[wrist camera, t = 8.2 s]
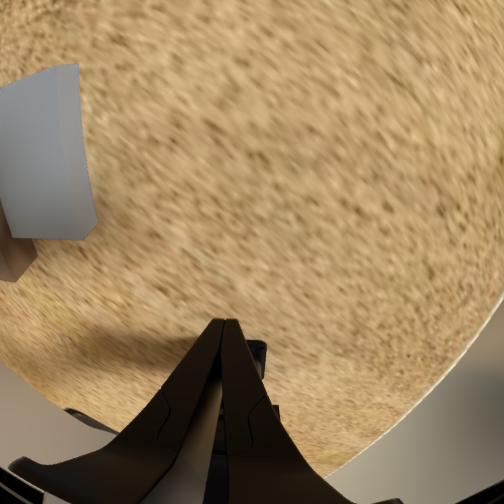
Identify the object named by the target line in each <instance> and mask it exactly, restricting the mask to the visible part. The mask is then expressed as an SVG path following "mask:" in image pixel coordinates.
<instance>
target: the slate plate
mask: <svg viewBox="0 0 504 504" xmlns="http://www.w3.org/2000/svg"><path fill="white" fill-rule="evenodd" d="M0 199H1V203H2V206H3V209H4V213H5V216H6V219H7V222H8V225H9V228H10V231H11V234H12V237H13V238H34V239H59V240H84V238H85V237H86V236H87V235H88V234H89V232H90V231H91V230H92V229H93V228H94V227H95V226H96V224H97V223H98V220H97V215H96V211H95V206H94V201H93V196H92V190H91V185H90V179H89V173H88V167H87V160H86V153H85V145H84V137H83V128H82V117H81V103H80V84H79V64H68V65H57V66H54V67H51V68H48V69H45V70H42V71H40V72H37V73H35V74H32V75H29V76H27V77H25V78H22V79H20V80H17V81H15V82H13V83H11V84H9V85H6V86H4V87H2V88H0Z"/></svg>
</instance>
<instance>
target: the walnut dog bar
mask: <svg viewBox="0 0 504 504" xmlns="http://www.w3.org/2000/svg"><path fill="white" fill-rule="evenodd" d="M37 256H38V255H37V253H36V250H35V248H34V245H33V242H32V240H31V238H13V237H12V234H11V231H10V228H9V225H8V222H7V219H6V216H5V213H4V209H3V206H2V203H1V199H0V280H2V281H8V282H14V283H16V282H17V280H18V279H19V278H20V277H21V275H22V274H23V273H24V272H25V271H26V269H27V268H28V267H29V266H30V265H31V263H32V262H33V261H34V260H35V259H36V258H37Z"/></svg>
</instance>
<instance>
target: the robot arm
mask: <svg viewBox="0 0 504 504" xmlns="http://www.w3.org/2000/svg"><path fill="white" fill-rule="evenodd" d="M266 351H267V344H266V343H265V342H256V341H246V340H245V337H244V335H243V332H242V330H241V327H240V324H239V322H238V320H237V319H226V320H225V319H221V318H214V319H212V320H211V322H210V323H209V324H208V326H207V327H206V328H205V330H204V331H203V332H202V334H201V335H200V336H199V338H198V339H197V340H196V342H195V343H194V344H193V346H192V347H191V348H190V350H189V351H188V352H187V354H186V355H185V356H184V358H183V359H182V360H181V361H180V363H179V364H178V365H177V367H176V368H175V369H174V371H173V372H172V373H171V375H170V376H169V377H168V379H167V380H166V381H165V383H164V384H163V385H162V386H161V389H159V390H158V392H157V393H156V394H155V396H154V397H153V398H152V399H151V401H150V402H149V403H148V404H147V405H146V407H145V408H144V409H143V410H142V411H141V412H140V413H139V414H138V415H137V416H136V417H135V418H134V419H133V420H132V421H131V422H130V423H129V424H128V425H127V426H126V427H125V428H124V429H123V430H122V431H121V432H120V433H119V434H118V435H117V436H116V437H115V438H114V439H113V440H112V441H111V442H110V443H108V444H107V445H106V446H104V447H103V448H101V449H99V450H96V451H94V452H91V453H88V454H85V455H82V456H79V457H77V458H73V459H70V460H68V461H64V462H61V463H57V464H53V465H42V464H39V463H37V462H35V461H32V460H31V459H29V458H27V457H24V456H23V457H21V458H19V459H17V460H15V461H14V462H12V463H11V464H10V465H9V466H8V469H9V470H10V471H11V472H13V473H14V474H16V475H18V476H19V477H21V478H23V479H24V480H26V481H28V482H29V483H31V484H33V485H35V486H37V487H38V488H40V489H42V490H44V493H43V492H41V491H40V490H38V489H36V488H34V487H33V486H31V485H29V484H27V483H26V482H24V481H22V480H21V479H19V478H17V477H16V476H14V475H13V474H11V473H9V472H8V471H6V470H5V469H3V468H1V467H0V504H356V503H353V502H351V501H349V500H348V499H346V498H345V497H344V496H343V495H342V494H340V493H339V492H338V491H337V490H336V489H334V488H333V487H332V486H331V485H330V484H329V483H327V482H326V481H325V480H324V479H323V478H322V477H321V476H319V475H318V474H317V473H316V472H315V471H314V470H313V469H312V468H311V466H310V465H309V464H308V463H307V461H306V460H305V459H304V457H303V456H302V455H301V453H300V452H299V450H298V448H297V447H296V445H295V444H294V442H293V441H292V439H291V438H290V436H289V435H288V433H287V432H286V430H285V428H284V427H283V425H282V423H281V421H280V413H279V405H272V403H271V401H270V399H269V396H268V395H267V392H266V389H265V387H264V384H263V382H262V379H264V372H265V361H266ZM373 504H404V503H403V502H402V501H401V500H400V499H399V498H394V499H390V500H385V501H381V502H377V503H373ZM455 504H504V480H501V481H500V482H498V483H496V484H494V485H492V486H490V487H488V488H486V489H484V490H482V491H479V492H478V493H476V494H474V495H472V496H469V497H467V498H465V499H463V500H461V501H459V502H457V503H455Z"/></svg>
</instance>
